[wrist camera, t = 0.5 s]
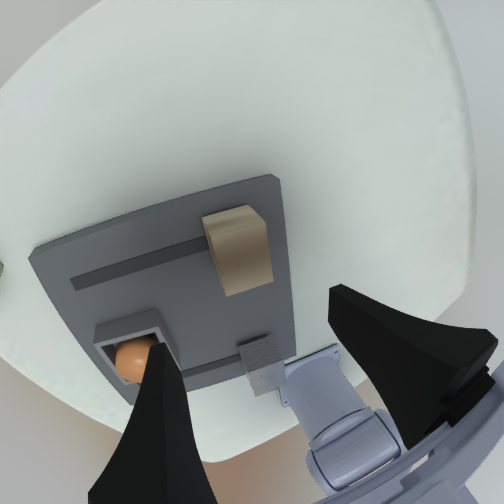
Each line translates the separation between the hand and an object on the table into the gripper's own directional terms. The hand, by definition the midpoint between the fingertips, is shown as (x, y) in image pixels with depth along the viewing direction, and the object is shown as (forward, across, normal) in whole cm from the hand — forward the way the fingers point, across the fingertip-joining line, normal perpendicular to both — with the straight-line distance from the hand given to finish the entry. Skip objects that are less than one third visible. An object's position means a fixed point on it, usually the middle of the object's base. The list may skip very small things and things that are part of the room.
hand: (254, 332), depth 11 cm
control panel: (+10, +4, +6) cm, 12 cm away
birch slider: (+8, -1, 0) cm, 8 cm away
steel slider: (+8, -1, +12) cm, 14 cm away
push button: (+7, +8, +6) cm, 12 cm away
